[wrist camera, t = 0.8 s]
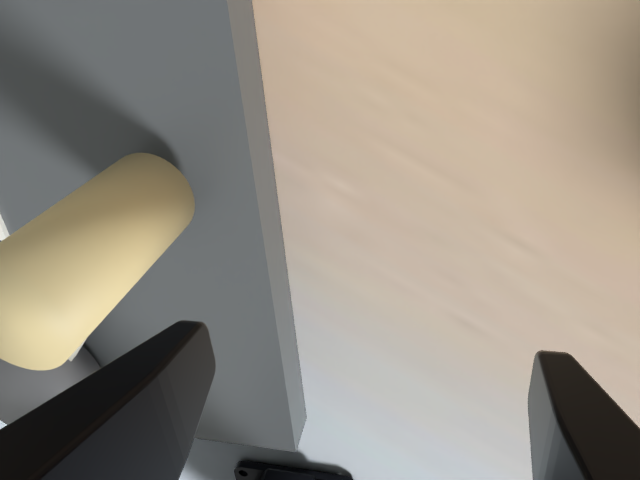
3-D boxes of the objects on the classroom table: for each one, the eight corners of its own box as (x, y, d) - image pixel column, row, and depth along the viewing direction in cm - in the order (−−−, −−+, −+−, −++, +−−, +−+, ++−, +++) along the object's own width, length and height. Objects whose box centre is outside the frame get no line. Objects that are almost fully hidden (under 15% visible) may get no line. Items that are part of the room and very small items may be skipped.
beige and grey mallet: (84, 421, 26) (-28, 570, 20) (-6, 364, 25) (-151, 502, 19) (242, 202, 17) (129, 348, 11) (113, 107, 17) (-79, 209, 11)
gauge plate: (306, 417, 25) (293, 461, 23) (-59, 372, 30) (-97, 405, 28) (221, -230, 13) (178, -258, 11) (-357, -129, 19) (-460, -136, 16)
